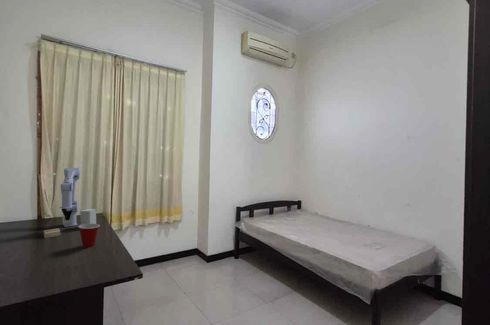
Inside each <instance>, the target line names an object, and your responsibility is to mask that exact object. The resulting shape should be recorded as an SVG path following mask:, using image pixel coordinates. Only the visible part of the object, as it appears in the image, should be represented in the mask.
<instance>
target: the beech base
mask: <svg viewBox="0 0 490 325" xmlns="http://www.w3.org/2000/svg"><path fill="white" fill-rule="evenodd" d="M60 236H61V229H60V228H59V227H58V228H51V229H44V230H43V237H44V238H45V239H47V238H53V237H54V238H55V237H60Z"/></svg>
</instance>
